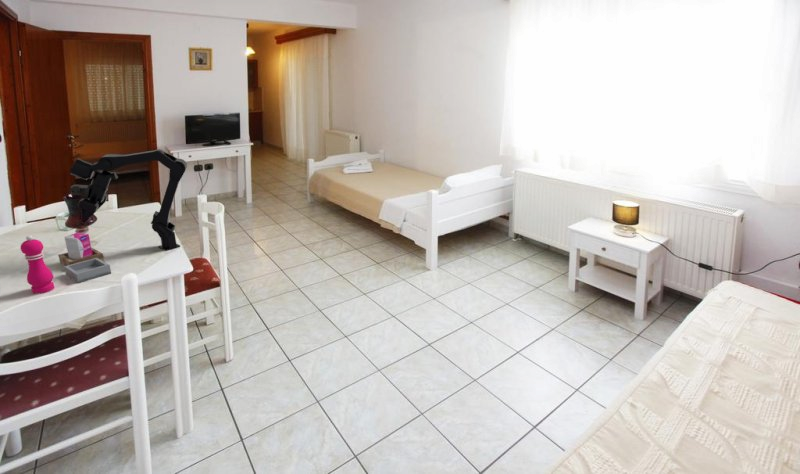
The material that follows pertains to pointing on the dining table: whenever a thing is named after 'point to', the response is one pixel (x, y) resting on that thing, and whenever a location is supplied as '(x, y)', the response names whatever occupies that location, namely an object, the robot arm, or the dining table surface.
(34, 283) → the pepper mill
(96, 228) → the dining table surface
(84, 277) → the tray
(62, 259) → the holder
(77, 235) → the supplement box
